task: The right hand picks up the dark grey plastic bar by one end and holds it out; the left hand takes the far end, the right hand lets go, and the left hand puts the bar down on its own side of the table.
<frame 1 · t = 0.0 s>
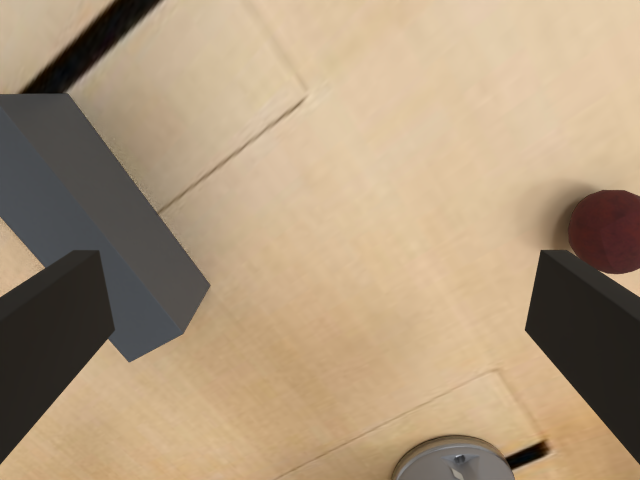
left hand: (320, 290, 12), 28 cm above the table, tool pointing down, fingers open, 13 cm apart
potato: (588, 218, 41), on the table
bar: (121, 211, 41), on the table
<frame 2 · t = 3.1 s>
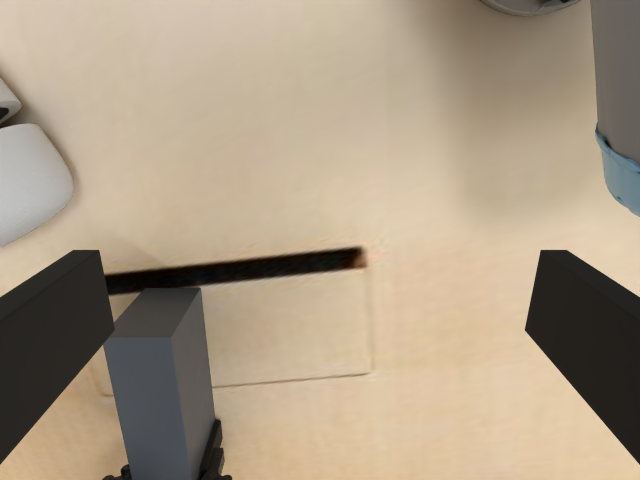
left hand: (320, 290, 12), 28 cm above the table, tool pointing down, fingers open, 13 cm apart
bar: (184, 374, 47), on the table, touching right hand
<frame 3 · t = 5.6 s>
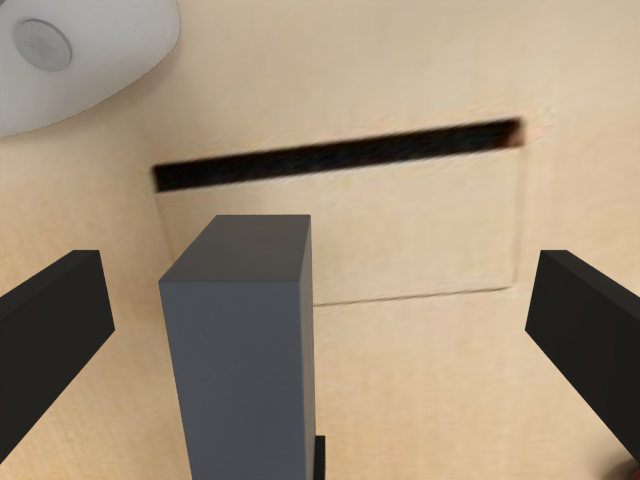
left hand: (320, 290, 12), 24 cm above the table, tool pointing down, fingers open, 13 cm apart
projector: (41, 25, 32), on the table
bar: (273, 361, 29), point 11 cm above the table, touching right hand
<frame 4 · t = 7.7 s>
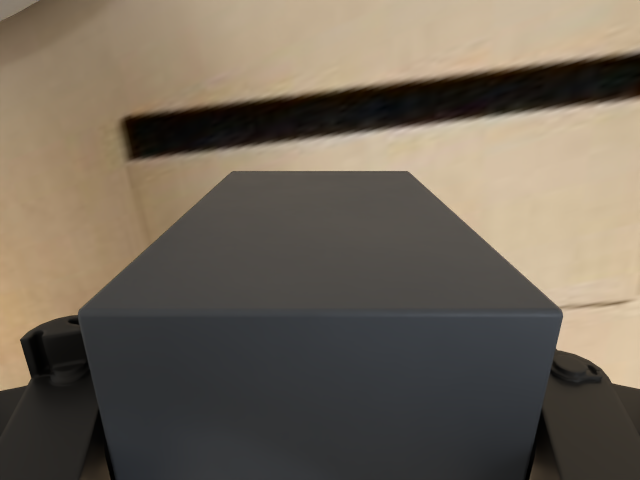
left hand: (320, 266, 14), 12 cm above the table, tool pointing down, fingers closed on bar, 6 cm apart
bar: (320, 431, 17), point 11 cm above the table, touching left hand, right hand
when the right hand's fingers open (12 cm above the table, at t = 8.5 s): bar stays where it is, held by the left hand.
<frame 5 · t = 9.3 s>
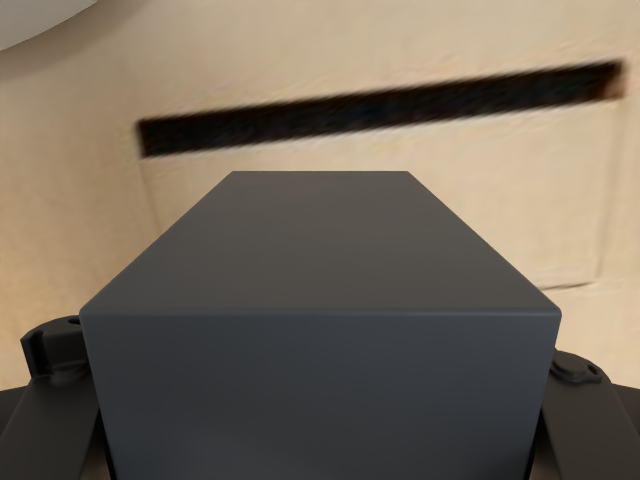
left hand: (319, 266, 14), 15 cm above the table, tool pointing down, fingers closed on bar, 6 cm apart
bar: (320, 430, 17), point 14 cm above the table, touching left hand
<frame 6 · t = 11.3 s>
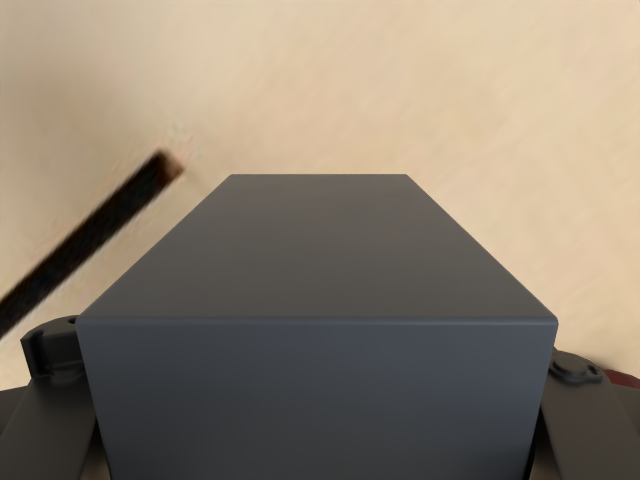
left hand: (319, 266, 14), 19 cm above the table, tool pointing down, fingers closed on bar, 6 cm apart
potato: (590, 385, 39), on the table
bar: (319, 433, 17), point 19 cm above the table, touching left hand
when the left hand's fingers open (2 cm above the table, at t = 15.0 s): bar drops 2 cm, on the table.
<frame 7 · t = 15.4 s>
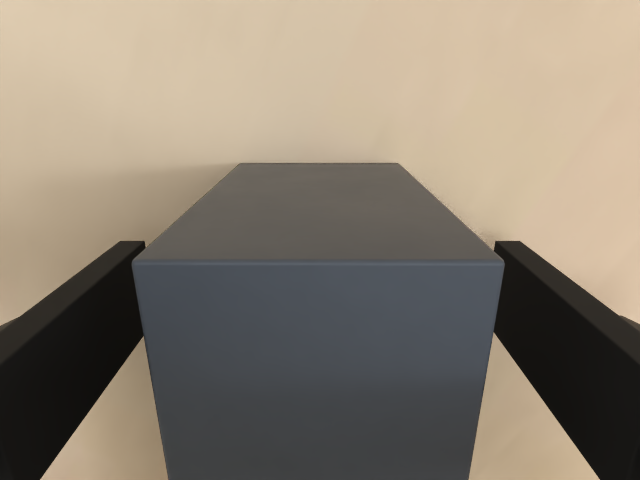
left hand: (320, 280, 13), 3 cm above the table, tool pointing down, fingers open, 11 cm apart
bar: (319, 404, 19), on the table
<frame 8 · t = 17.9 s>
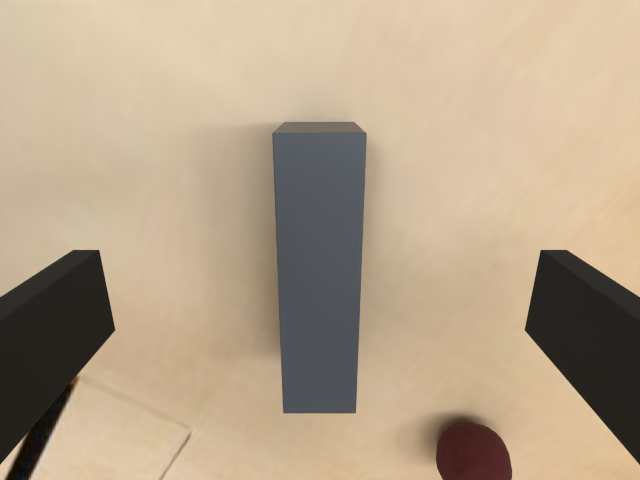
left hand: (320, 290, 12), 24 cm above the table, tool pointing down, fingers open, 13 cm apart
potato: (461, 433, 46), on the table
bar: (319, 245, 38), on the table
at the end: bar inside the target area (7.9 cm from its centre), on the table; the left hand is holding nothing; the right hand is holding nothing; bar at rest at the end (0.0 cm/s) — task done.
